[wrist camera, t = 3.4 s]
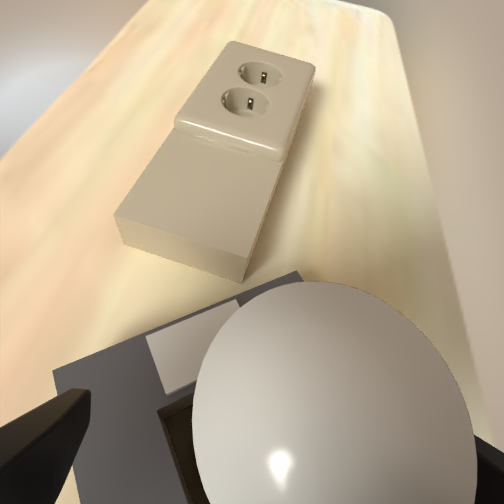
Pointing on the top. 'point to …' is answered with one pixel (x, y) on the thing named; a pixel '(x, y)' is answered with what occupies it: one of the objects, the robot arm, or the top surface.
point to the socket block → (144, 405)
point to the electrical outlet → (219, 163)
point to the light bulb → (329, 406)
